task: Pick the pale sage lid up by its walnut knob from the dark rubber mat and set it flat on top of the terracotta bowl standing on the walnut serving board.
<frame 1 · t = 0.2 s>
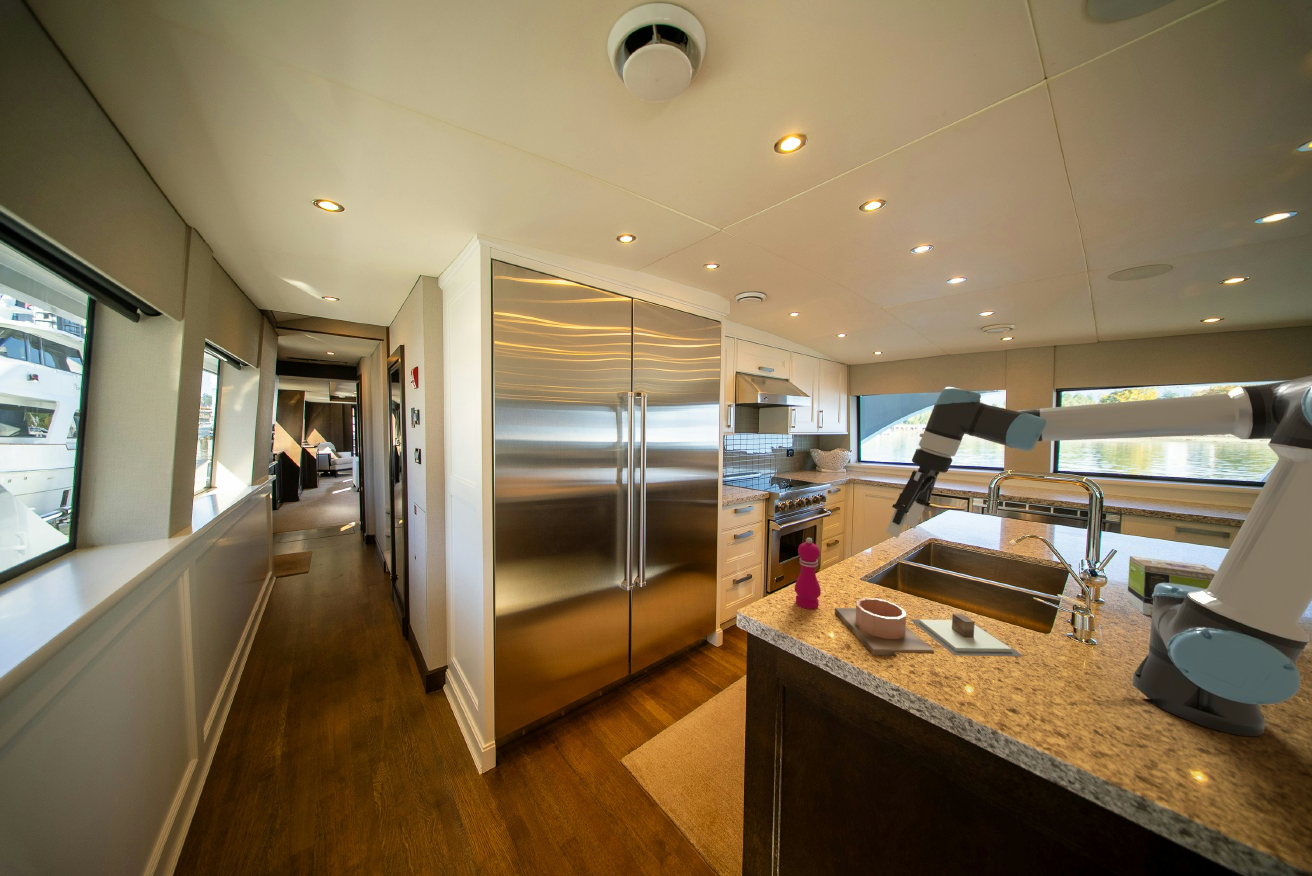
hand: (901, 530, 100), 27 cm above the counter, tool tilted 15°, fingers open, 13 cm apart
mat: (962, 640, 99), on the counter
bowl: (879, 626, 102), resting on board
tea box: (1172, 615, 114), on the counter
lid: (962, 636, 99), point 1 cm above the counter, touching mat
pepper mill: (807, 604, 117), on the counter
board: (879, 632, 102), on the counter
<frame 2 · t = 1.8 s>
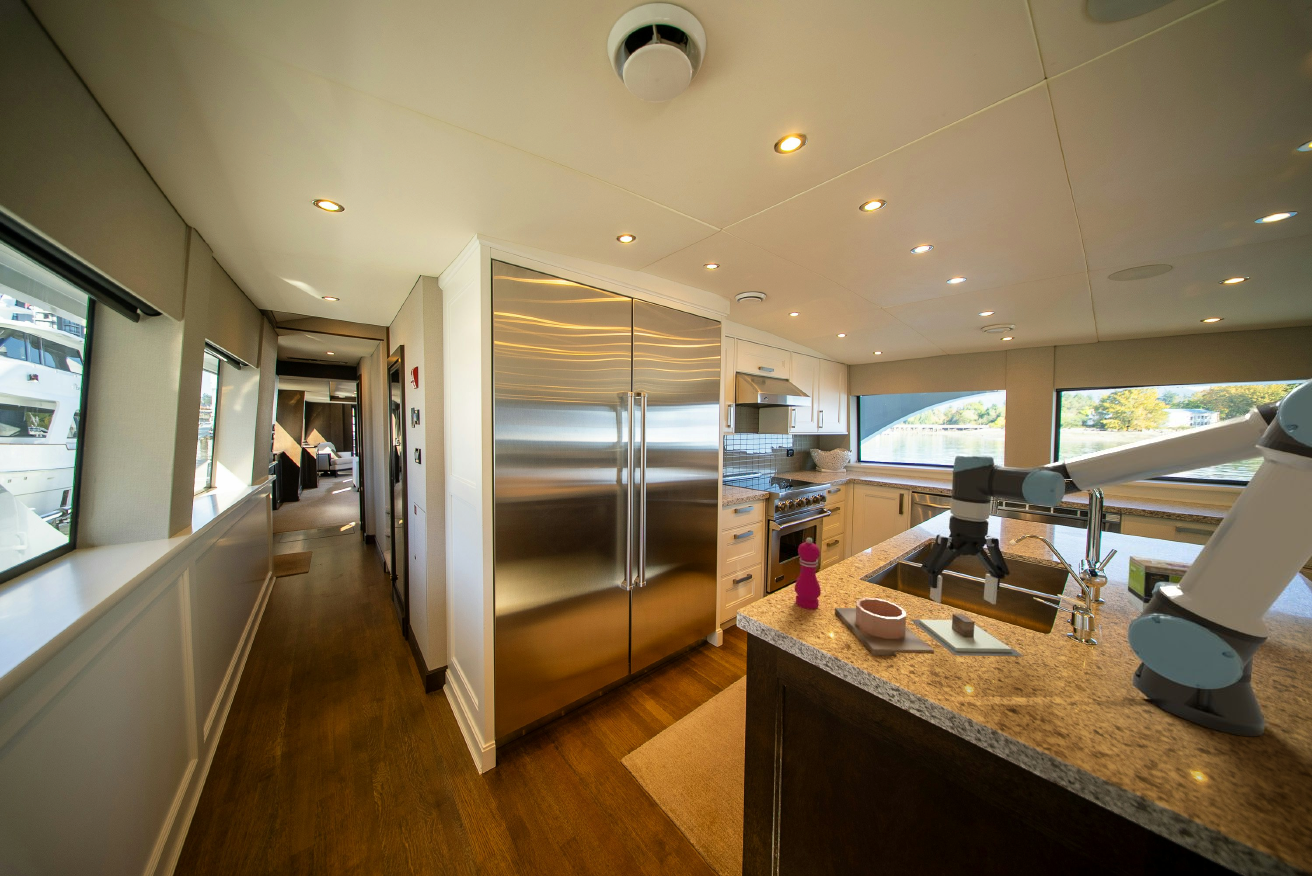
hand: (962, 600, 99), 10 cm above the counter, tool pointing down, fingers open, 13 cm apart
nothing on the counter moved.
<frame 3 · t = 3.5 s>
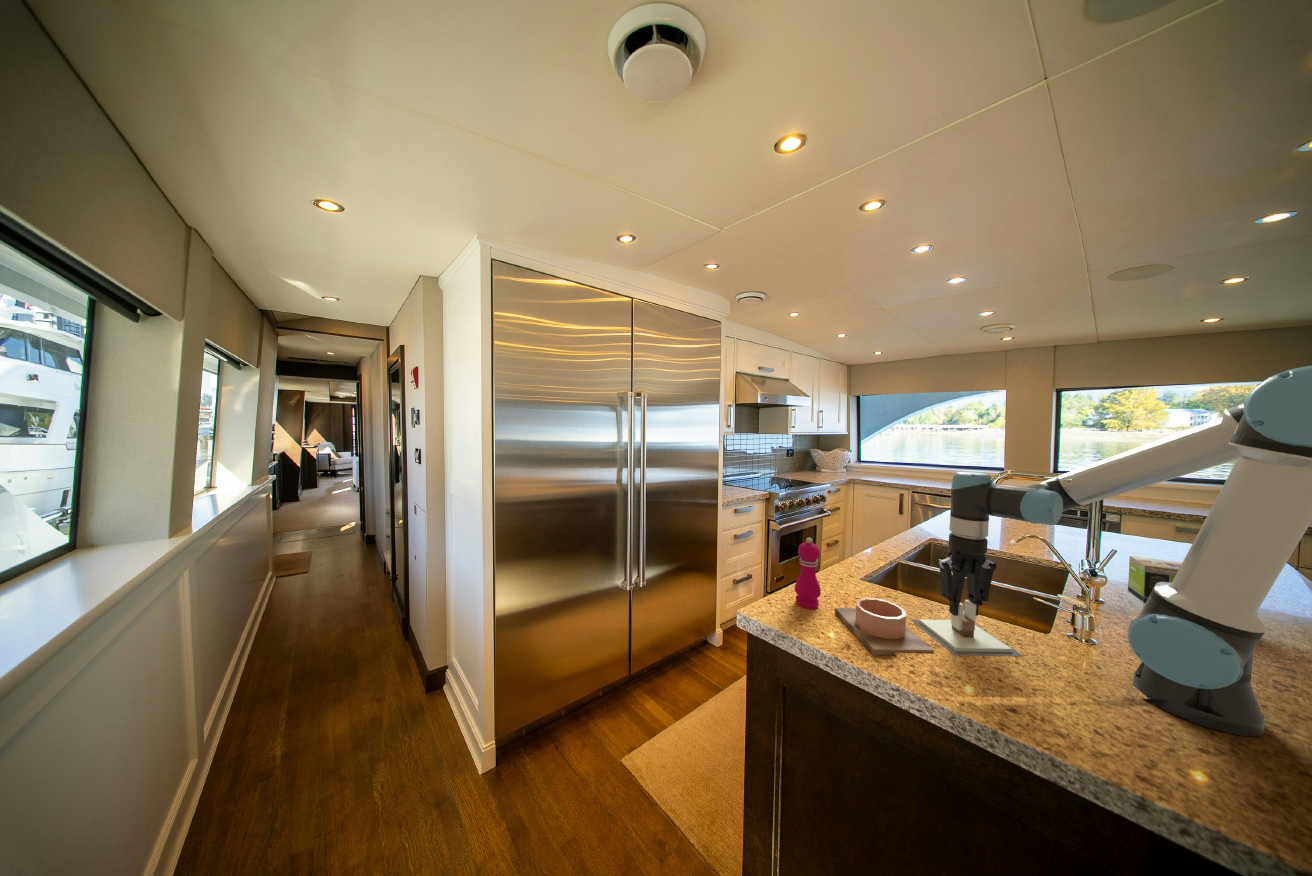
hand: (962, 627, 99), 3 cm above the counter, tool pointing down, fingers closed on lid, 2 cm apart
lid: (962, 636, 99), point 1 cm above the counter, touching gripper, mat
everything else where it was.
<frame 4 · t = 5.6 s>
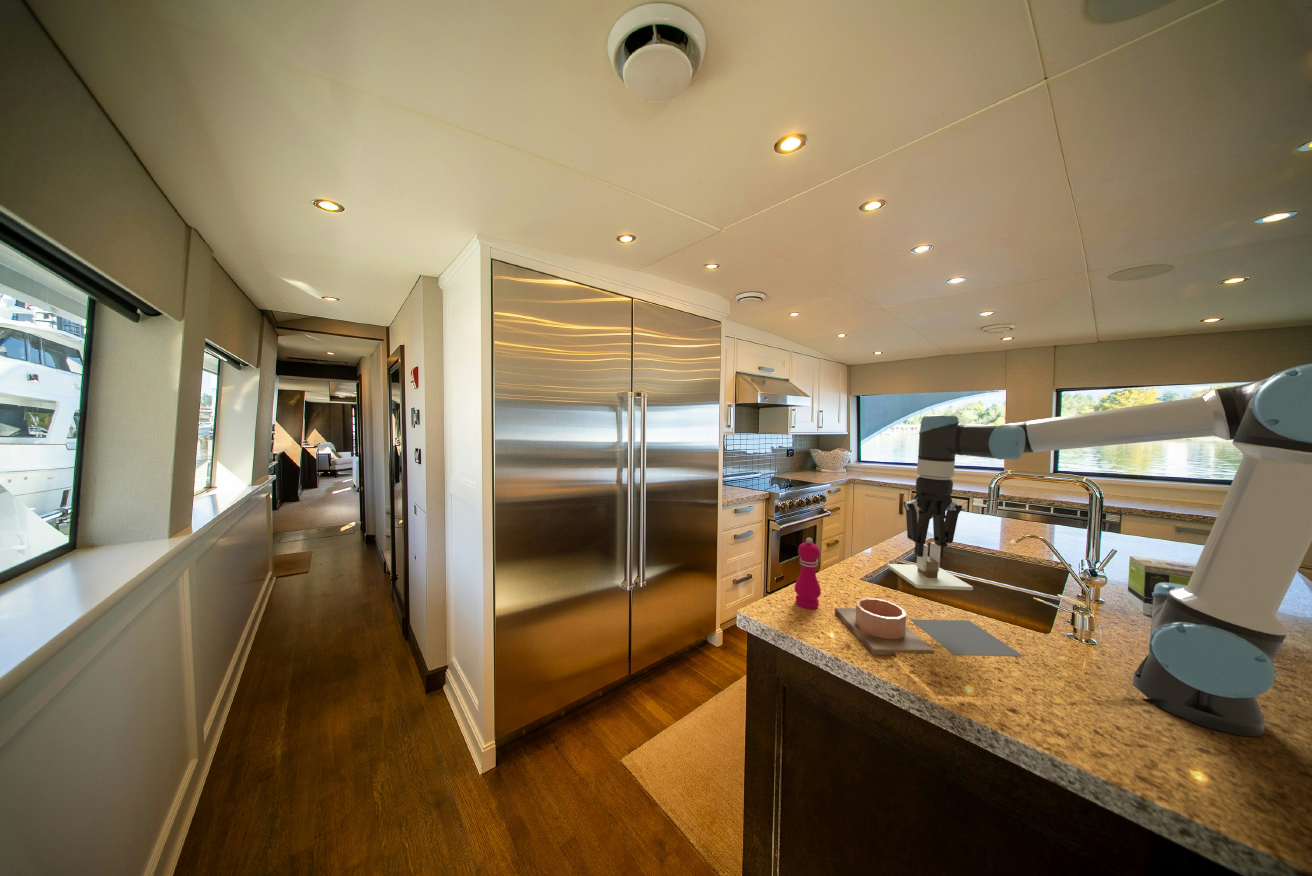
hand: (927, 568, 100), 17 cm above the counter, tool pointing down, fingers closed on lid, 2 cm apart
lid: (926, 577, 100), point 15 cm above the counter, touching gripper
everything else where it was.
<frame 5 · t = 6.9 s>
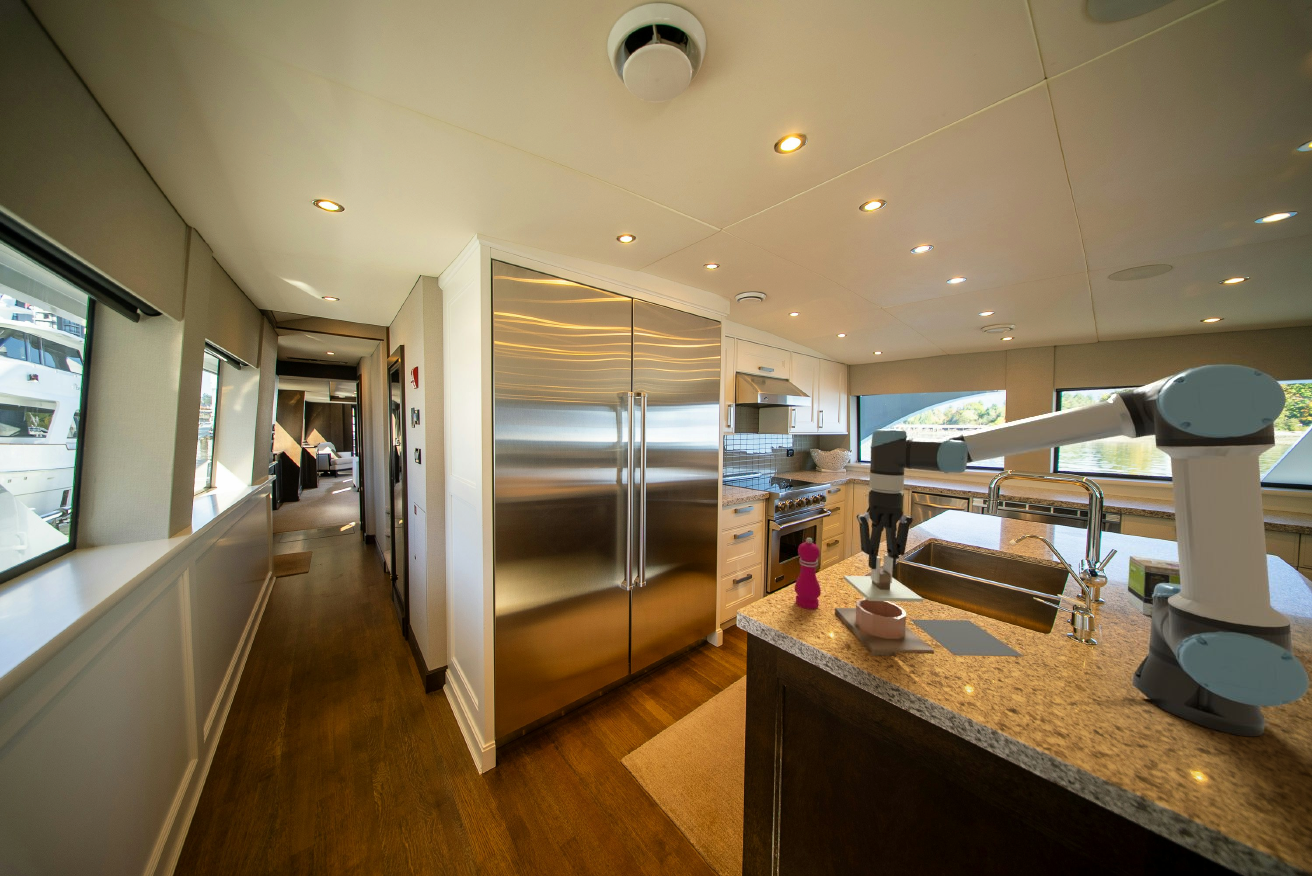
hand: (881, 580, 101), 14 cm above the counter, tool pointing down, fingers closed on lid, 2 cm apart
lid: (880, 589, 102), point 11 cm above the counter, touching gripper
everything else where it was.
when the fingers open (10 cm above the counter, at t = 7.9 s): lid drops 1 cm, resting on bowl.
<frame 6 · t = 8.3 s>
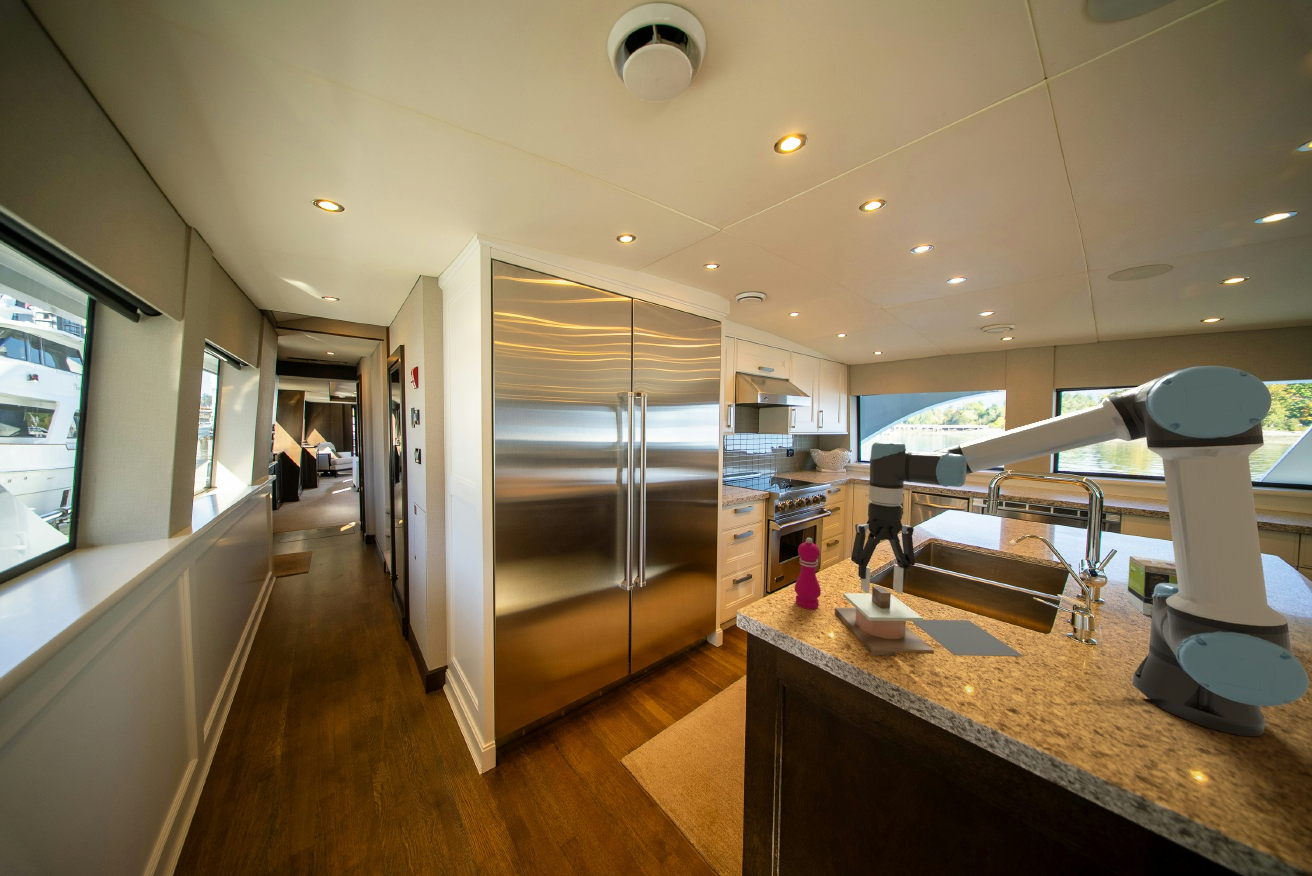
hand: (881, 590, 101), 11 cm above the counter, tool pointing down, fingers open, 8 cm apart
lid: (880, 607, 102), point 6 cm above the counter, touching bowl
everything else where it was.
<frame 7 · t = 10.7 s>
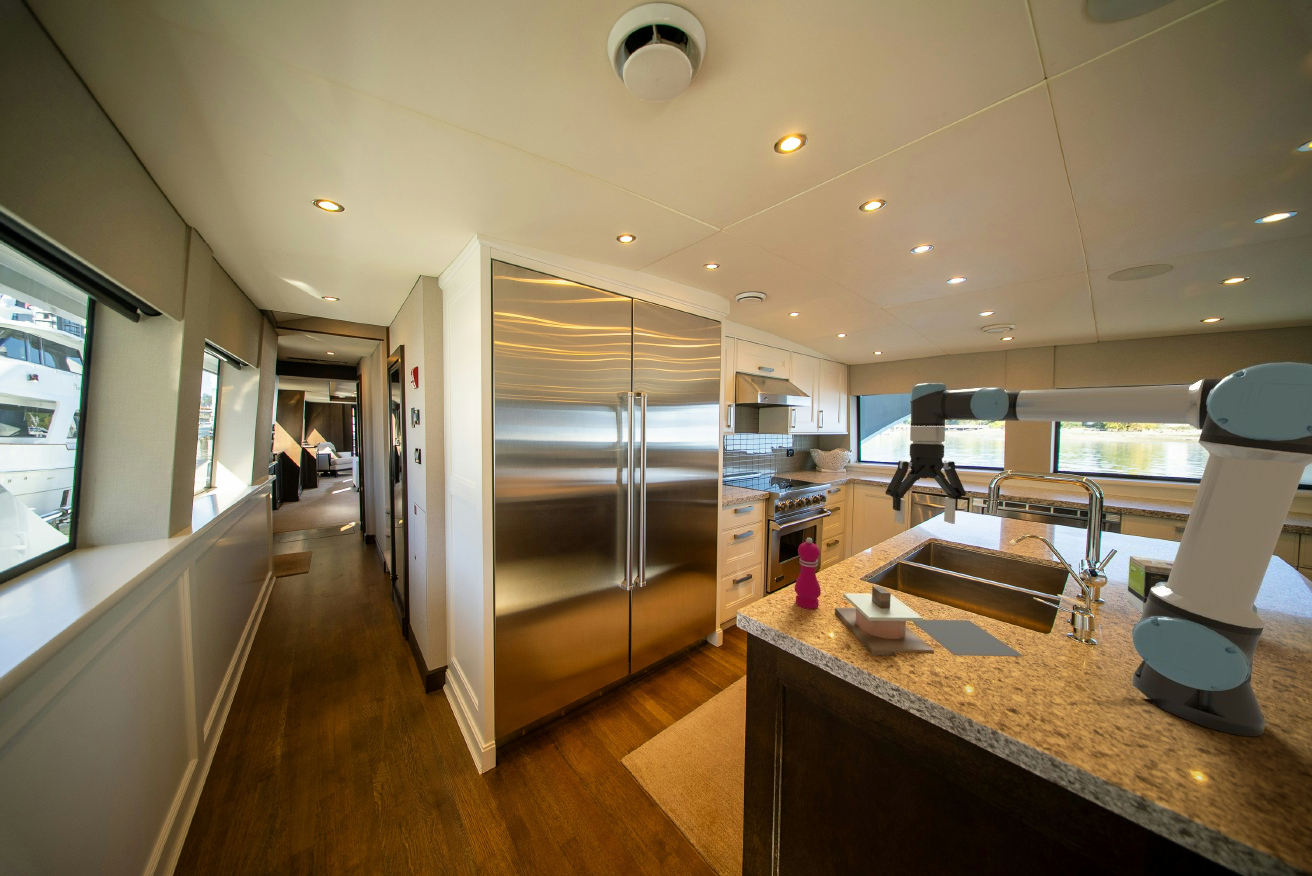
hand: (924, 522, 105), 28 cm above the counter, tool pointing down, fingers open, 13 cm apart
nothing on the counter moved.
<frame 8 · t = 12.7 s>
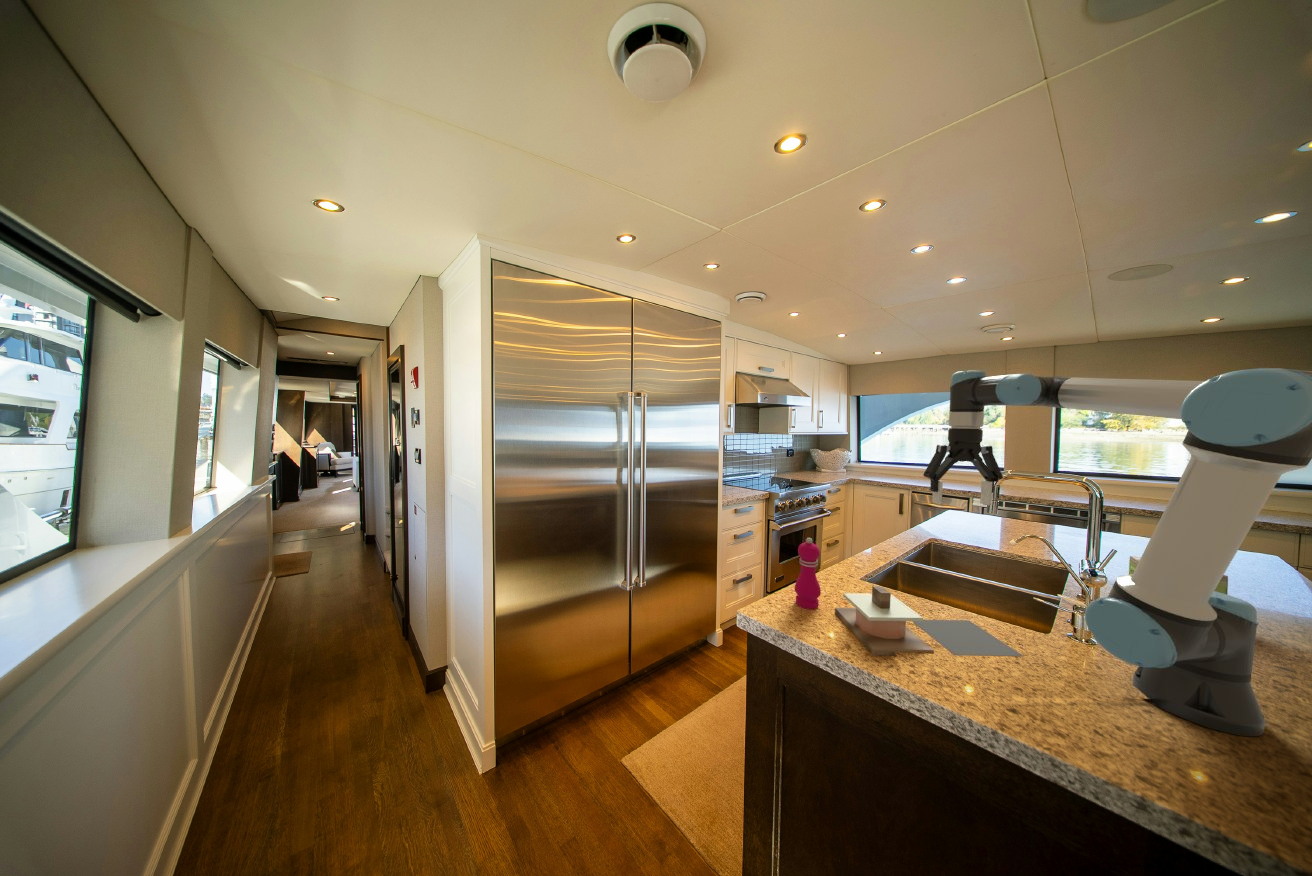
hand: (961, 503, 110), 32 cm above the counter, tool pointing down, fingers open, 13 cm apart
nothing on the counter moved.
at the end: lid 0.0 cm off-centre on the bowl, point 5.0 cm above the bowl's base; lid tilted 0°; the gripper is holding nothing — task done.
